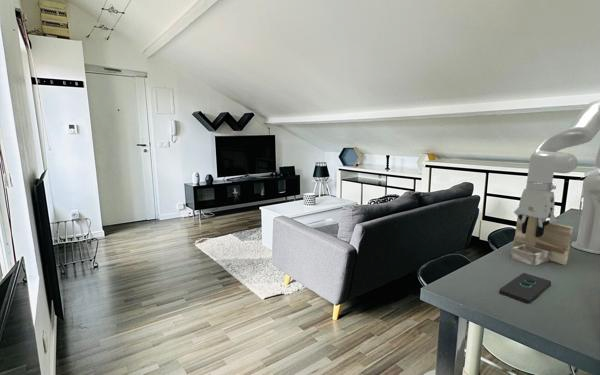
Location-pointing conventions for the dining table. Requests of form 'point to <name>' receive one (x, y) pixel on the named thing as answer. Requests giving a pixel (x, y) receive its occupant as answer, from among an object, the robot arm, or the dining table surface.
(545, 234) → the wooden wall shelf
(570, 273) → the dining table surface
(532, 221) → the handle
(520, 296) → the smart home device
